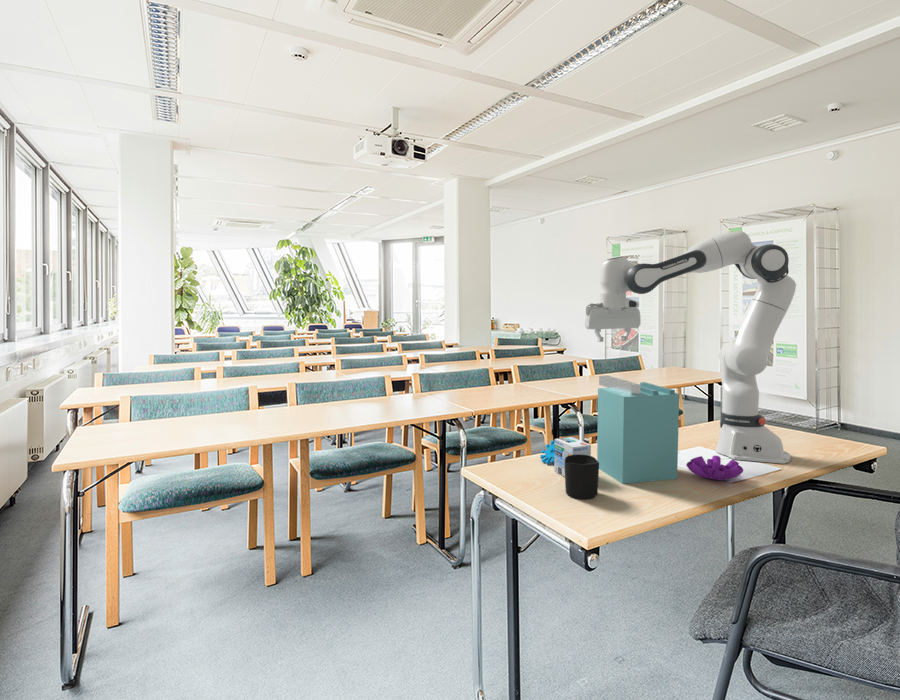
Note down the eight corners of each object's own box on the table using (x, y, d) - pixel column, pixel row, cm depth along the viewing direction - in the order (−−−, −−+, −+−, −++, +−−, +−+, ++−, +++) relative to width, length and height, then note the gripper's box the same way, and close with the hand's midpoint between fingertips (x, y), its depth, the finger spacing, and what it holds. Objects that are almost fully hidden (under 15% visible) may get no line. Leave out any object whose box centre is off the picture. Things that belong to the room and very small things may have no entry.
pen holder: (604, 493, 149) (605, 458, 148) (588, 503, 142) (589, 466, 141) (574, 485, 155) (574, 452, 154) (558, 494, 148) (558, 460, 147)
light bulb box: (553, 471, 168) (553, 438, 167) (571, 468, 170) (571, 436, 169) (572, 482, 158) (572, 446, 157) (591, 479, 160) (591, 444, 159)
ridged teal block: (597, 467, 171) (598, 384, 169) (647, 463, 175) (649, 381, 172) (622, 483, 156) (623, 392, 153) (677, 478, 159) (679, 389, 157)
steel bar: (599, 384, 176) (599, 375, 175) (607, 384, 176) (607, 375, 176) (631, 395, 156) (631, 385, 156) (640, 394, 157) (640, 384, 156)
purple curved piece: (693, 482, 166) (703, 454, 169) (744, 495, 154) (753, 465, 157) (679, 466, 160) (689, 438, 163) (730, 479, 148) (741, 448, 151)
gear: (534, 453, 182) (555, 433, 182) (545, 464, 184) (565, 443, 184) (547, 467, 171) (569, 445, 171) (558, 478, 173) (580, 456, 173)
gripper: (590, 303, 184) (589, 342, 185) (643, 302, 188) (642, 341, 189) (582, 303, 190) (581, 341, 192) (633, 302, 194) (633, 339, 196)
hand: (612, 341), depth 191 cm, fingers open, 8 cm apart
